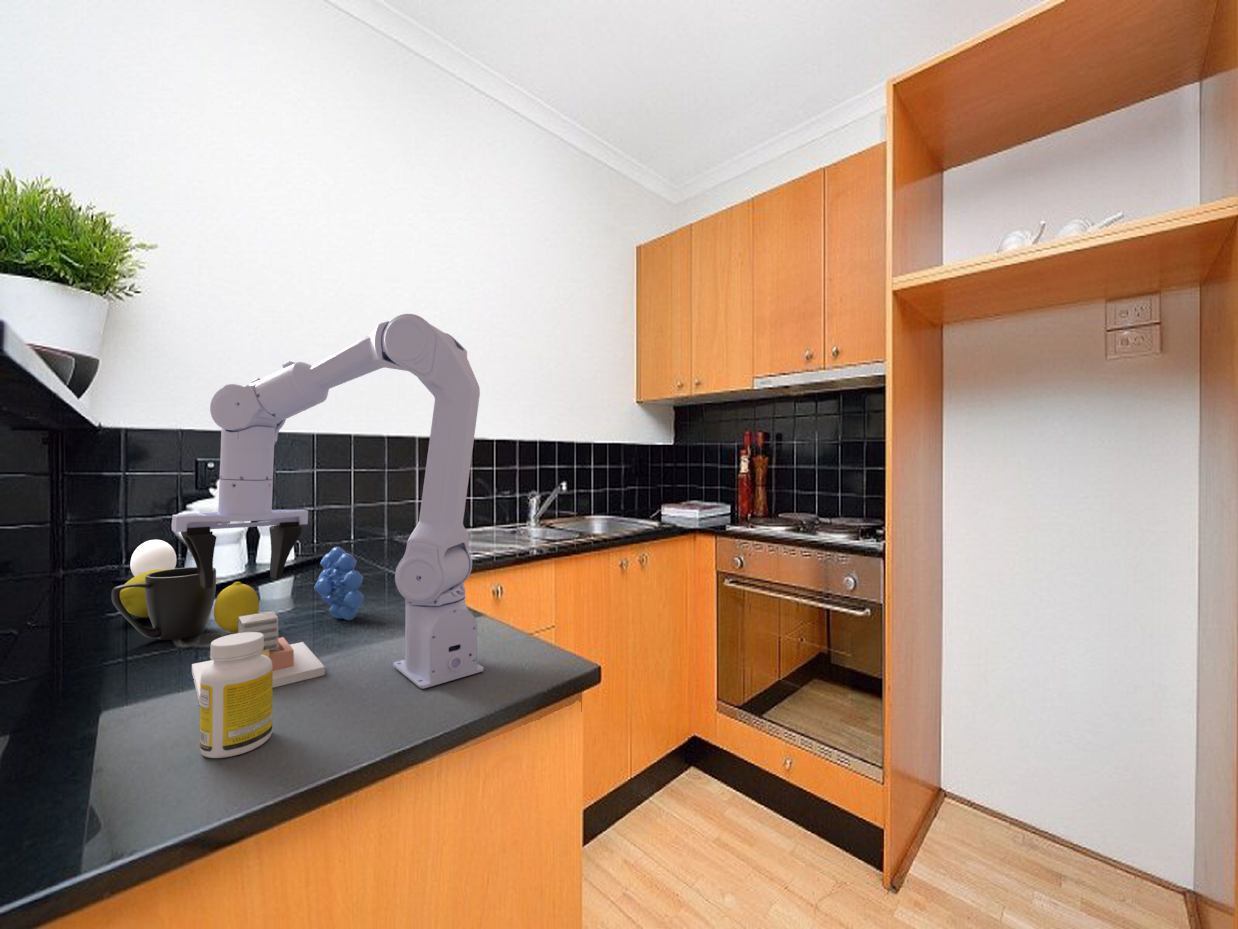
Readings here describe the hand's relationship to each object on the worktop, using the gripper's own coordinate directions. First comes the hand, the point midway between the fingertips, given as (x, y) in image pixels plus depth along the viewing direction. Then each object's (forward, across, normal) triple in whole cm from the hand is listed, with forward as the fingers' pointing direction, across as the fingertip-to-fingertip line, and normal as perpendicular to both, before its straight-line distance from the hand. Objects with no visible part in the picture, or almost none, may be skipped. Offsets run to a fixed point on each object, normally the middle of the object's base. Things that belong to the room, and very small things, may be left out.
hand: (242, 582), depth 68 cm
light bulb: (+12, -1, -53) cm, 54 cm away
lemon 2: (+11, -3, -13) cm, 17 cm away
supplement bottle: (+10, +7, +24) cm, 27 cm away
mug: (+11, +4, -19) cm, 23 cm away
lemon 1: (+12, +2, -34) cm, 36 cm away
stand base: (+10, 0, +7) cm, 12 cm away
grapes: (+10, -16, -9) cm, 21 cm away
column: (+9, 0, +7) cm, 11 cm away
